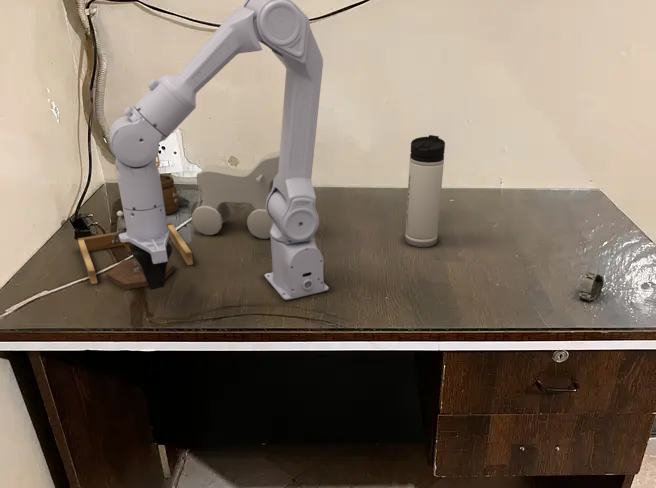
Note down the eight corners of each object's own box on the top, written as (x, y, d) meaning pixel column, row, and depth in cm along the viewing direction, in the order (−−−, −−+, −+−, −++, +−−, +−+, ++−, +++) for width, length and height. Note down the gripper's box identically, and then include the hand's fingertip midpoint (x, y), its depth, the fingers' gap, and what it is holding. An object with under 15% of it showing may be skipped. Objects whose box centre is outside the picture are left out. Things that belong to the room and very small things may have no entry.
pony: (301, 224, 128) (299, 143, 119) (291, 245, 119) (288, 158, 110) (206, 218, 129) (197, 137, 121) (189, 238, 120) (178, 152, 112)
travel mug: (441, 237, 123) (450, 137, 113) (430, 250, 118) (439, 146, 108) (412, 231, 126) (418, 132, 116) (400, 243, 120) (405, 141, 110)
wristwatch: (595, 306, 104) (605, 279, 104) (587, 296, 100) (598, 268, 100) (577, 302, 106) (588, 275, 106) (569, 291, 102) (580, 264, 102)
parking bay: (193, 264, 110) (191, 251, 109) (91, 284, 103) (88, 271, 102) (173, 234, 121) (171, 222, 120) (79, 250, 114) (77, 238, 113)
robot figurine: (173, 258, 112) (164, 195, 106) (178, 282, 105) (168, 215, 99) (107, 267, 109) (94, 202, 103) (107, 291, 101) (93, 223, 95)
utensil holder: (153, 217, 129) (144, 160, 123) (147, 207, 133) (138, 152, 127) (182, 213, 131) (175, 157, 125) (175, 203, 136) (168, 149, 130)
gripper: (105, 191, 93) (121, 272, 100) (123, 226, 82) (139, 313, 89) (153, 185, 96) (165, 263, 103) (177, 217, 85) (188, 302, 92)
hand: (156, 286), depth 96 cm, fingers closed
